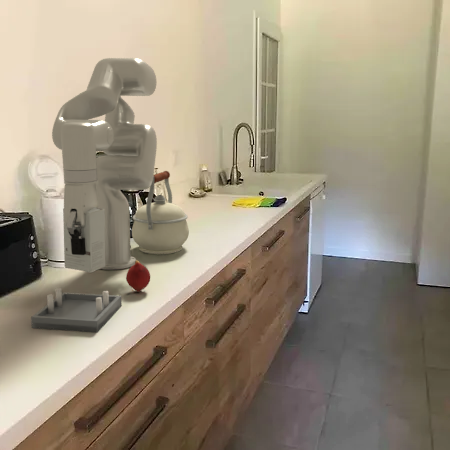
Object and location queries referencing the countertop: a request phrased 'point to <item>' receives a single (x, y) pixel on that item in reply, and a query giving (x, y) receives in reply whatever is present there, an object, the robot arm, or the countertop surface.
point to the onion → (138, 276)
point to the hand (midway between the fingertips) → (85, 249)
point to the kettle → (160, 222)
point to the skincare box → (88, 243)
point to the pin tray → (76, 311)
